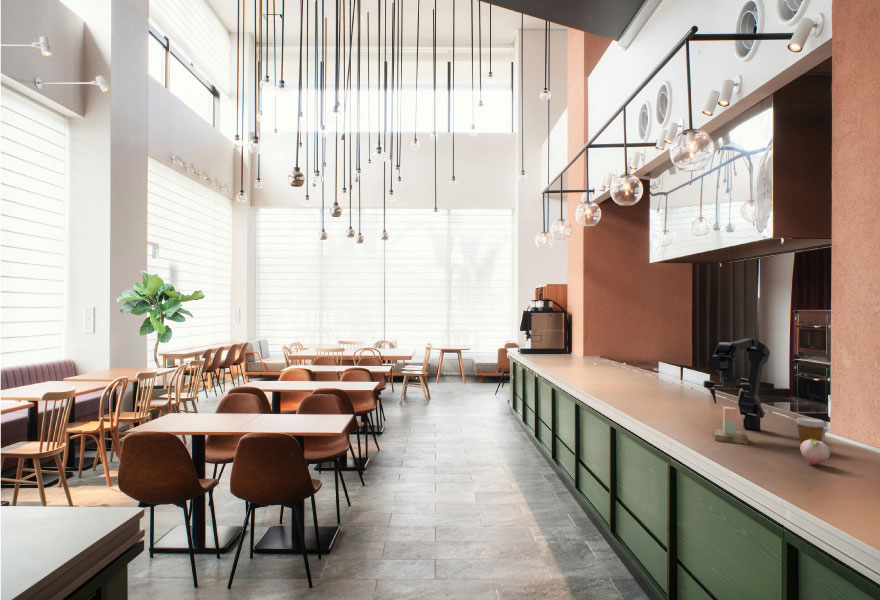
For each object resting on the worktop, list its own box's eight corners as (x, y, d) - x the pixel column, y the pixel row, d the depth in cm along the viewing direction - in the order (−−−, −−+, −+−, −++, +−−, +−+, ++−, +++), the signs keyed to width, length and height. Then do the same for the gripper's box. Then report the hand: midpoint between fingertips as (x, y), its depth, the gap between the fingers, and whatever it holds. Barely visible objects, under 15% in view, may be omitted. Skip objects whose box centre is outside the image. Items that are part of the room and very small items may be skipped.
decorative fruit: (833, 470, 176) (834, 441, 176) (806, 467, 179) (806, 439, 179) (823, 462, 185) (824, 435, 185) (797, 460, 188) (797, 433, 188)
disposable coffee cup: (817, 453, 197) (817, 423, 197) (790, 447, 205) (790, 418, 205) (830, 451, 201) (830, 420, 201) (803, 445, 209) (803, 416, 210)
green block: (735, 432, 218) (735, 420, 218) (736, 435, 214) (736, 422, 214) (723, 431, 220) (723, 419, 220) (724, 433, 216) (724, 421, 216)
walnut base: (743, 437, 220) (743, 431, 220) (747, 444, 209) (748, 438, 209) (712, 434, 225) (712, 428, 225) (715, 440, 214) (715, 434, 214)
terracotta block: (735, 420, 218) (735, 407, 218) (736, 422, 214) (736, 409, 214) (723, 419, 220) (723, 406, 220) (724, 421, 216) (724, 408, 216)
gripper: (705, 370, 224) (704, 405, 224) (754, 373, 217) (753, 409, 216) (703, 368, 234) (703, 401, 234) (750, 370, 227) (749, 405, 226)
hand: (726, 404), depth 227 cm, fingers open, 9 cm apart
